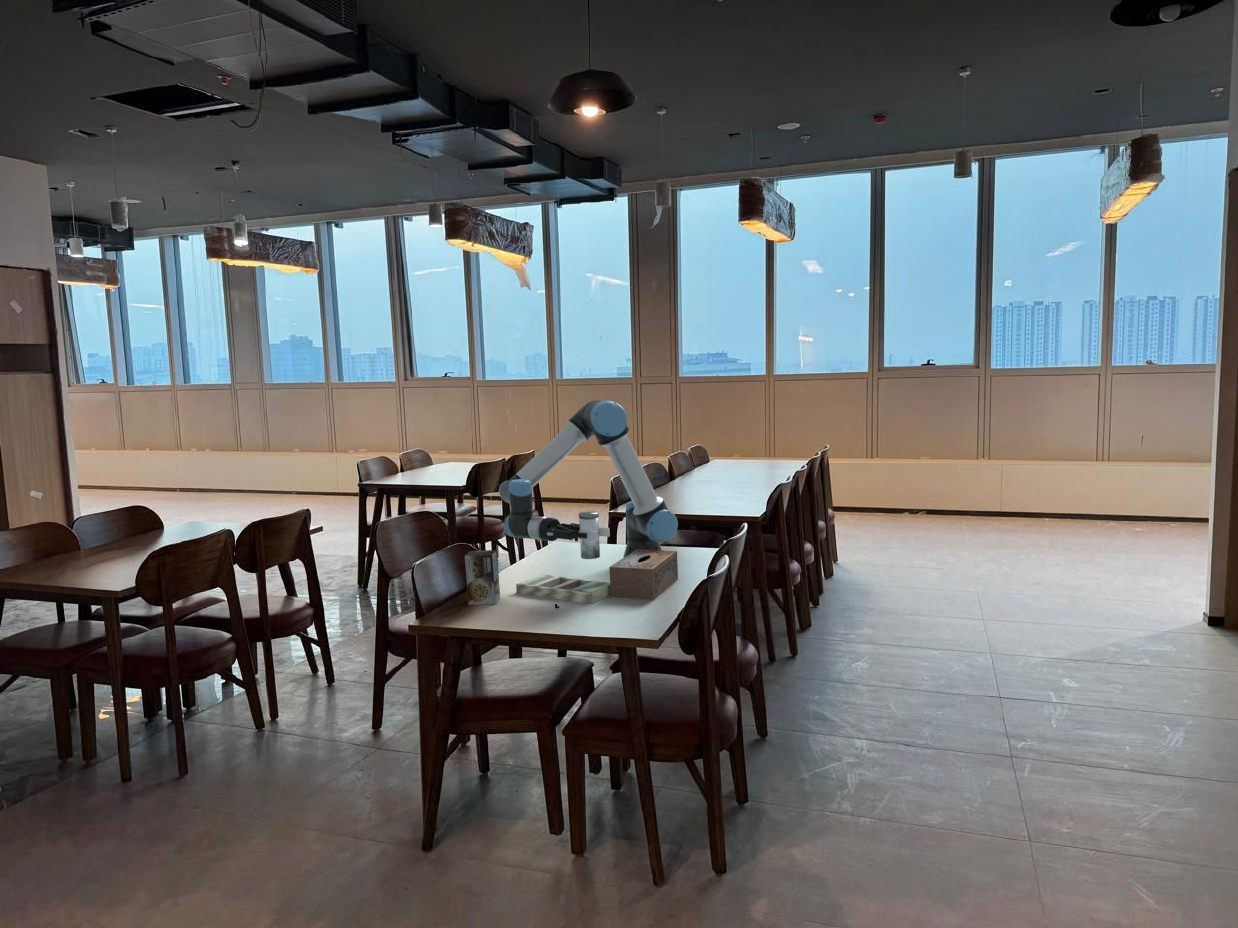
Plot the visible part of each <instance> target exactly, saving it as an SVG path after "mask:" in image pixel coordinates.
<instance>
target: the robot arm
mask: <svg viewBox="0 0 1238 928" xmlns="http://www.w3.org/2000/svg"><path fill="white" fill-rule="evenodd" d="M630 430H631V429H630V428H629V426H628V416H627V412H626V411H625V409H624V408H623V406H621V405H620V404H619V403H617V402H615V401H612V400H607V399H606V400H597V399H596V400H591V401H589V402H587V403H585V404H584V405H583V406H581V407H580V409H579V410H577V411H576V412H575V413H574V414H573V416H571V417H570V419H568V420H567V422H566V426H565V427H564V428H563V429H562V430H561V431H560V432H559V433H557V435H556V436H554V438H552V439H551V440H550V441H549V442H548V443H547V444H546V445H545V446H544V447H542V449H541V450H540V451H538V453H537V454H535V455H534V456H533V457H532V458H531V459H530V460H529V461H528V462H527V463H526V464H524V466H523V467H522V468H521V469H520V470H519V471H518V472H516V473H515V475H513V476H512V477H511V478H510V479H508V480H506V481H503V482H502V483H501V484H500V485H499V488H498V493H499V497H500V498H501V500H502V501H504V502H505V503H507V504H509V510H510V512H509V515H507V516H506V517H505V519H504V523H503V531H504V533H505V534H506V535H507V536H508V537H513V538H516V539H529V540H537V542H541V541H547V542H554V541H555V542H556V541H557V540H560V539H561V540H568V541H573V540H574V542H578V541H579V540H580V539H584V540H594V541H597V532H596V531H585V530H580V524H579V523H574V522H571V523H570V524H569V523H565V522H563V523H560V522H561V521H560V520H559V519H557V518H555V517H547V516H537V515H536V516H534V510H533V508H534V506H533V505H534V504H533V502H534V501H533V488H534V487H535V486H536V485H537V484H538V483H539V482H540V481H541V480H542V479H544V478H545V476H547V475H548V474H549V473H550V472H551V471H552V470H553V469H554V468H555V467H556V466H557V465H558V464H559V463H561V462H562V461H563V460H564V459H565V458H566V457H567V456H568V455H569V454H570V453H571V452H572V451H573V450H574V449H575V448H576V447H577V446H579V445H580V443H582V442H584V443H586V442H587V441H588V440H589V439H590V438H592V437H593V436H594V437H595V439H596V441H597V443H598V446H601V447H603V448H605V449H606V451H607V453H608V456H609V457H610V460H611V462H612V463H613V465H614V467H615V469H616V472H617V473H618V475H619V477H620V480H621V481H622V484H623V486H624V488H625V490H626V492H627V493H628V495H629V498H630V500H631V501H629V502H626V505H625V518H626V519H625V520H626V521H625V523H626V538H627V542H626V546H625V549H624V552H623V553H624V554H623V557H622V559H623V558H624V557H626V556H627V555H629V554H630V553H632V552H634V551H635V550H663V549H662V546H661V543H665V542H667V541H669V540H670V539H672V538H673V537H674V536H675V534H676V533H677V530H678V527H679V526H678V525H679V522H678V519H677V515H675V513H674V512H673V511H671V510H670V509H669V508H668V506H667V504H666V503H665V501H664V498H663V497H662V496H658V495H657V493H656V492H655V490H654V487H653V485H652V482H651V481H650V479H649V477H648V475H647V473H646V471H645V469H644V466H643V465H642V462H641V460H640V458H639V457H638V454H637V452H636V450H635V449H634V445H633V444H632V442H631V440H630V438H629V434H630V433H631V431H630ZM610 530H611V529H610V527H604V526H599V537H607V538H608V537H611V534H610V533H611V531H610Z"/></svg>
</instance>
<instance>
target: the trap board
mask: <svg viewBox="0 0 1238 928" xmlns="http://www.w3.org/2000/svg"><path fill="white" fill-rule="evenodd" d="M515 588H516V589H515V590H516V594H522V595H527V596H536V597H542V598H548V597H549V598H548V599H554V598H555V599H557V600H561V599H562V600H561V601H569V602H574V603H575V602H576V603H583V604H590V605H591V604H594V603H597V602H598V601H600V600H603V599H605V598H607V596H608V597H611V594H610V582H606V581H605V582H604V581H597V580H590V579H583V578H576V577H575V578H574V577H568V576H558V575H552V574H551V575H550V574H540V575H538V576H534V577H532V578H529V579H526V580H523V581H521V582H518V583H515Z"/></svg>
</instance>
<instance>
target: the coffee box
mask: <svg viewBox="0 0 1238 928" xmlns="http://www.w3.org/2000/svg"><path fill="white" fill-rule="evenodd" d="M464 562H465V565H464V566H465V573H466V574H465V575H466V585H467V586H466V587H467V589H466V590H467V600H468V601H467V602H468V603H467V604H468V606H475V605H476V606H478V605H479V606H481V605H482V606H483V605H484V606H485V605H486V606H487V605H497V604H498V603H499V602H500V601H501V592H500V591H501V590H500V589H501V588H500V576H499V563H498V562H499V561H498V550H497V549H494V550H493V549H490V550H489V549H488V550H469V551H468V552H467V553H466V554H465V555H464Z"/></svg>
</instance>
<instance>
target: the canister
mask: <svg viewBox="0 0 1238 928" xmlns="http://www.w3.org/2000/svg"><path fill="white" fill-rule="evenodd" d="M599 516H600V515H599V511H592V510H591V511H589V510H588V511H581V512H579V513H578V520H579V523H578V524H580V530H585V531H596V532H597V541H594V540H584V539H579V542H580V543H579V545H580V558H581V559H582V560H594V559H599V558H600V557H601V553H600V551H601V549H600V546H601V545H600V536H599V527H600V526H599V525H600V524H599Z"/></svg>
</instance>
